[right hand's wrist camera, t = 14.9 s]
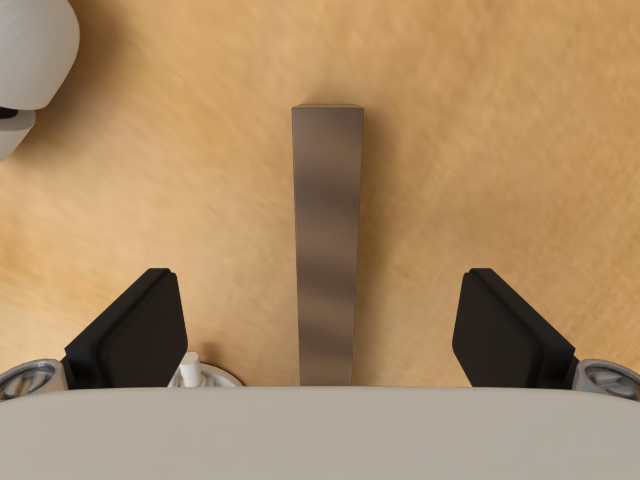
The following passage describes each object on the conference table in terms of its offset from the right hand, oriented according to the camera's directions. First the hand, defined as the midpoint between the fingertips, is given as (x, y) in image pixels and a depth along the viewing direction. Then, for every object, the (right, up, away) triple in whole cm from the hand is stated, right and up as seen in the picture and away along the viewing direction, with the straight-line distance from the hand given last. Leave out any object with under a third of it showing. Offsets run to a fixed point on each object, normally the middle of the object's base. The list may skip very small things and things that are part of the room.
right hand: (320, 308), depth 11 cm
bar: (+1, -21, +31) cm, 37 cm away
